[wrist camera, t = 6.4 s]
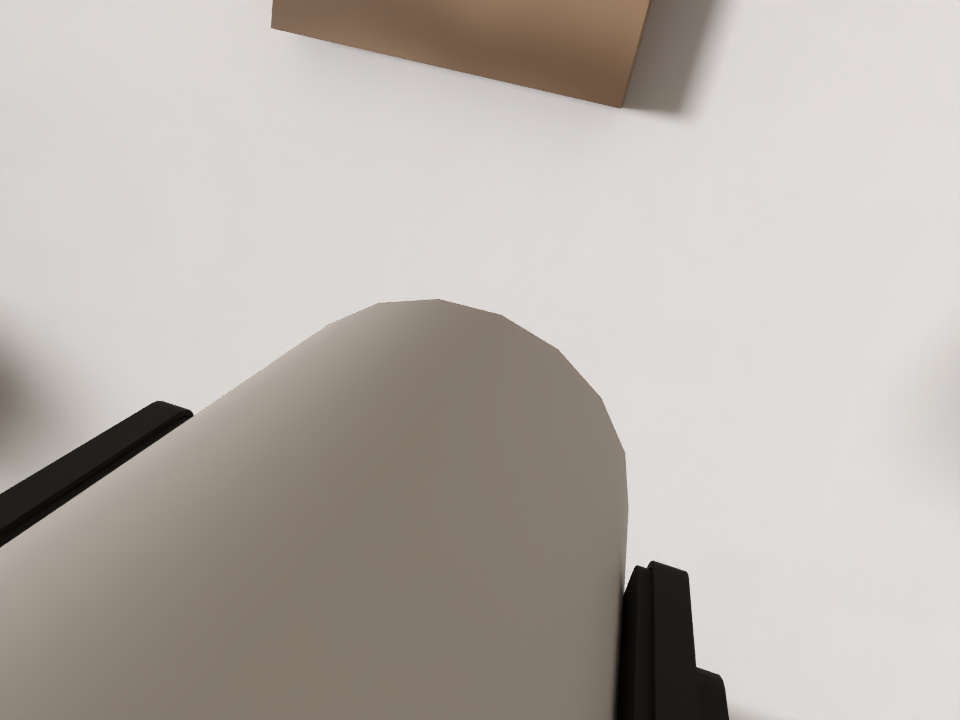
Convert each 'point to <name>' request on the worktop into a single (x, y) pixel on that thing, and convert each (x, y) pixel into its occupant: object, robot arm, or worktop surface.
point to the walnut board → (490, 38)
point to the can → (342, 544)
